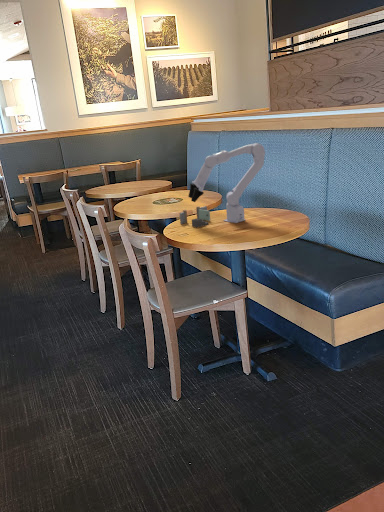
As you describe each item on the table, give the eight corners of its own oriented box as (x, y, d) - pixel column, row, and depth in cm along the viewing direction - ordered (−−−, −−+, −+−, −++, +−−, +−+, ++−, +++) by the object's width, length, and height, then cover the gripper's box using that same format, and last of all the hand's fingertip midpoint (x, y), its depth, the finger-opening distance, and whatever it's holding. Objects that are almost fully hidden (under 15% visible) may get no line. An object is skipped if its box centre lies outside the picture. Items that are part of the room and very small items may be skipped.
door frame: (207, 216, 260) (207, 204, 258) (182, 224, 248) (181, 211, 245) (205, 216, 261) (205, 204, 259) (180, 223, 249) (179, 211, 247)
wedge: (197, 228, 238) (197, 220, 237) (192, 226, 241) (191, 219, 240) (208, 224, 243) (208, 217, 242) (203, 223, 246) (202, 216, 245)
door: (199, 218, 256) (198, 209, 254) (210, 220, 249) (209, 210, 248) (197, 219, 255) (196, 209, 253) (208, 221, 248) (207, 211, 247)
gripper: (193, 170, 245) (182, 192, 249) (199, 177, 232) (187, 200, 236) (204, 175, 247) (193, 197, 251) (211, 182, 235) (199, 205, 238)
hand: (191, 199), depth 244 cm, fingers open, 7 cm apart
